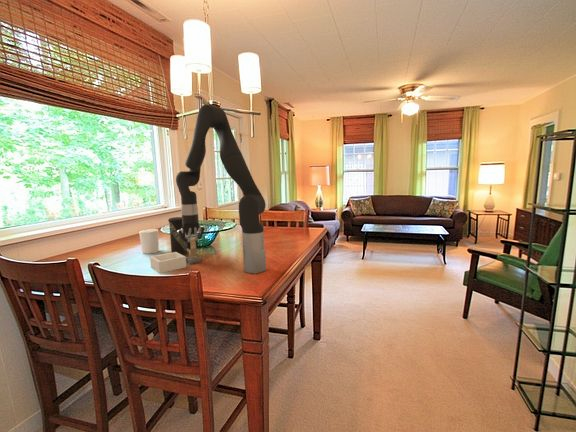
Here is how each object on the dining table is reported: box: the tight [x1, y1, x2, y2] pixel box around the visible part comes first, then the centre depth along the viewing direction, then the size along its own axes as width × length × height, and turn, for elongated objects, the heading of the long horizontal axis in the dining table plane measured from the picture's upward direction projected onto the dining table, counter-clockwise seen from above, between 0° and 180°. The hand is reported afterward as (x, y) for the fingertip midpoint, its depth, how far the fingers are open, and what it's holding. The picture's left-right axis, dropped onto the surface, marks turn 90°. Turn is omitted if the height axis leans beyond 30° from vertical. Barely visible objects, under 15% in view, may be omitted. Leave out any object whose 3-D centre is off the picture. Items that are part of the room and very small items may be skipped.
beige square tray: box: [149, 252, 187, 274], centre depth 139 cm, size 12×12×5 cm
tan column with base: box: [185, 236, 203, 265], centre depth 146 cm, size 6×6×12 cm
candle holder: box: [138, 228, 160, 254], centre depth 167 cm, size 10×10×12 cm
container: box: [167, 216, 188, 256], centre depth 161 cm, size 9×9×20 cm
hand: (192, 248), depth 146 cm, fingers closed on tan column with base, 2 cm apart
